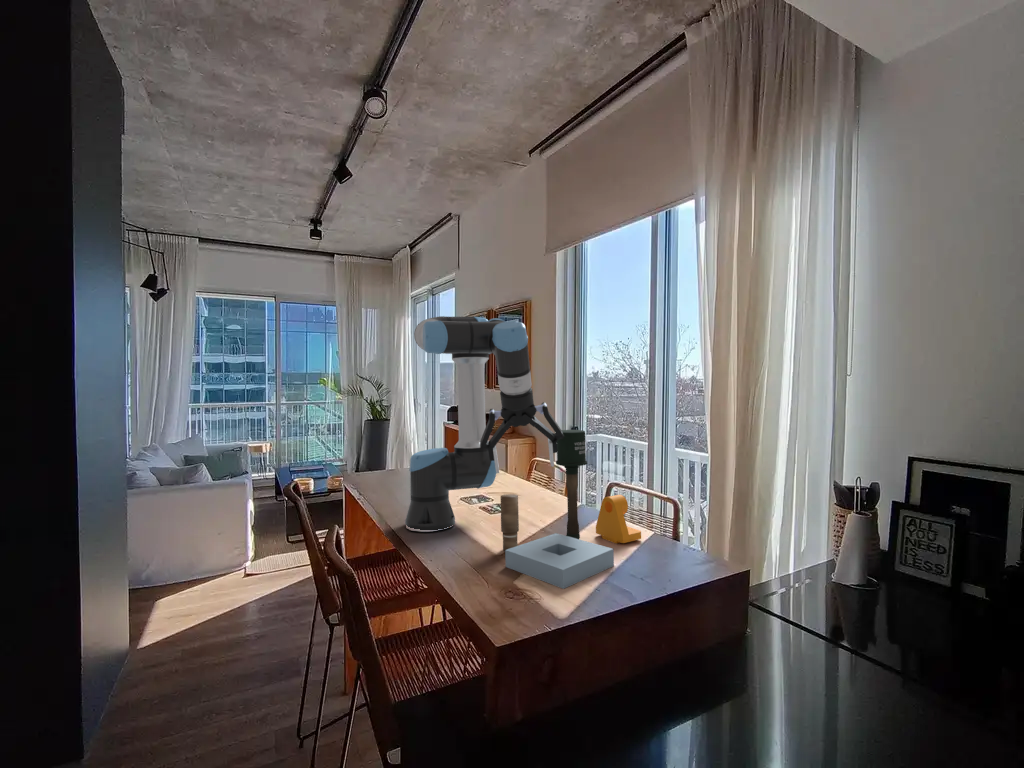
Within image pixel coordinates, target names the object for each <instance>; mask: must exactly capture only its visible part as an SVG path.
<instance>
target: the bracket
mask: <svg viewBox="0 0 1024 768" xmlns="http://www.w3.org/2000/svg"><path fill="white" fill-rule="evenodd" d="M628 509H629V504H628V500H627V499H626V497H625V496H624V495H622V494H616V495H610V496H605V497H603V498H602V501H601V504H600V509H599V513H598V516H597V520H596V525H595V534H597V535H600V536H601V539H603V540H606V541H608V542H612V543H614V544H617V545H618V544H620V543H621V544H626V543H630V542H634V541H637V540H642V531H641V530H639V529H636V528H634V527H630V526H629V525H627V522H626V518H625V514H626V513H627V512H628Z"/></svg>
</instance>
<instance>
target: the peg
mask: <svg viewBox="0 0 1024 768" xmlns="http://www.w3.org/2000/svg"><path fill="white" fill-rule="evenodd" d="M519 525H520V523H519V495H518V494H514V493H513V494H512V493H507V494H505V493H504V494H502V495H500V532H501V533H502V550H503V552H505V550H507V549H510V548H513V547H516V546H519V545H518V541H519V540H518V534H519V533H518V532H519V531H520V527H519Z"/></svg>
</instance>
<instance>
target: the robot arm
mask: <svg viewBox="0 0 1024 768" xmlns="http://www.w3.org/2000/svg"><path fill="white" fill-rule="evenodd" d="M413 334H414V336H413V337H414V340H415V343H416V344H417V346H418V347H419V348H420V349H422V350H424V351H425V353H428V354H436V355H442V354H446V355H449V354H450V355H451V360H452V362H453V363H455V364H456V374H457V410H458V411H457V415H458V416H457V417H458V420H457V421H458V441H457V442H456V444H455V445H454V446H453V447H454V448H453V450H454V451H452V452H449V450H448V448H446V447H439V448H438V447H433V448H430V449H425V450H421V451H417V452H415V453H413V454H412V455H411V457H410V460H409V473H410V475H409V479H410V480H409V481H410V484H409V485H410V487H409V488H410V490H409V491H410V501H409V505H408V509H407V513H406V517H405V520H404V525H405V524H406V525H407V526H408V527H410V528H414V529H420V530H438V529H444V528H447V527H450V526H452V525H454V524H455V525H456V517H455V514H454V510H453V507H452V505H451V502H450V496H449V495H450V492H449V491H457V490H467V489H468V490H469V489H477V490H478V489H480V488H488V487H491V486H492V485H493V483H495V479H496V476H497V475H498V474H500V466H499V459H498V451H497V444H498V443H499V441H500V440H501V439H502V437H503V436H504V435H505V433H506V432H507V431H508V430H510V428H511V427H513V428H516V427H527V426H528V425H529V424H530V425H531V426H532V427H534V428H535V429H537V431H539V432H540V433H541V434H542V435H544V436H545V437H546V438H547V443H548V444H547V447H548V453H549V454H548V456H549V463H550V467H555V461H554V460H555V459H554V454H557V440H559V439H563V438H564V435H563V432H562V430H563V429H562V428H561V427H560V425H559V424H558V423H557V422H556V420H555V419H554V417H553V416H552V414H551V413H550V412H549V409H548V408H549V407H548V404H547V402H545V401H542V403H541V404H538V405H535V403H534V394H533V388H532V386H533V384H532V373H531V372H532V371H531V364H530V354H529V343H528V341H529V336H528V334H527V328H526V325H525V324H524V323H523V322H521V321H516V320H515V321H513V320H510V321H505V320H504V319H501V318H495V317H493V318H490V319H489V320H488V319H487V318H485V317H482V316H481V317H480V316H479V317H478V316H445V315H443V316H441V315H440V316H435V317H430V318H429V317H428V318H427V319H424V320H422V321H420V322H419V323H418V324H417V325H416V327H415V329H414V333H413ZM491 354H493V355H494V358H495V363H496V369H497V371H496V372H497V378H498V386H499V390H500V392H499V394H500V401H501V410H495V409H494V408H490V409H489V417H488V419H487V420H488V421H487V420H486V394H485V393H486V388H485V387H486V385H485V383H486V382H485V364H486V363H487V362H488V360H489V359H490V355H491ZM537 412H539V414H540V415H543V416H544V418H545V420H546V421H547V423H548V424H549V425H550V427H551V428H552V429H553V431H554V432H553V431H552V430H551V429H550V428H549V427H547V426H546V425H545V424H544V423H543V422H542V421H541V420H539V419H538V418H537V417H536V416H535V415H536V414H537ZM499 417H501V418H502V419H503V420H502V422H501V424H500V425H499V426H498V428H497V429H496V431H495V433H493V434H492V436H491V433H492V431H493V429H494V426H495V422H496V421H497V420H498V419H499ZM486 422H487V423H486ZM490 436H491V437H490ZM455 525H454V526H455Z"/></svg>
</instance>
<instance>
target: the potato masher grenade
mask: <svg viewBox="0 0 1024 768" xmlns="http://www.w3.org/2000/svg"><path fill="white" fill-rule="evenodd" d="M561 430H562V432H563V435H564V438H563V439H559V440H557V453H556V459H557V460H555V461H556V462H555V464H556V465H557V466H561V467H564V468H565V482H566V483H565V485H566V490H567V493H566V494H567V495H566V496H567V499H566V500H567V501H566V502H567V523H566V534H565V536H569V537H572V538H576V539H579V540H580V538H581V535H580V534H581V533H580V524H579V519H578V516H579V515H578V513H579V511H578V485H579V484H578V483H579V481H578V480H579V479H578V478H579V477H578V476H579V475H578V473H579V468H580V467H581V466H586V465H588V461H587V452H586V451H587V450H586V445H587V444H586V431H585V430H582V429H561Z"/></svg>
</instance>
